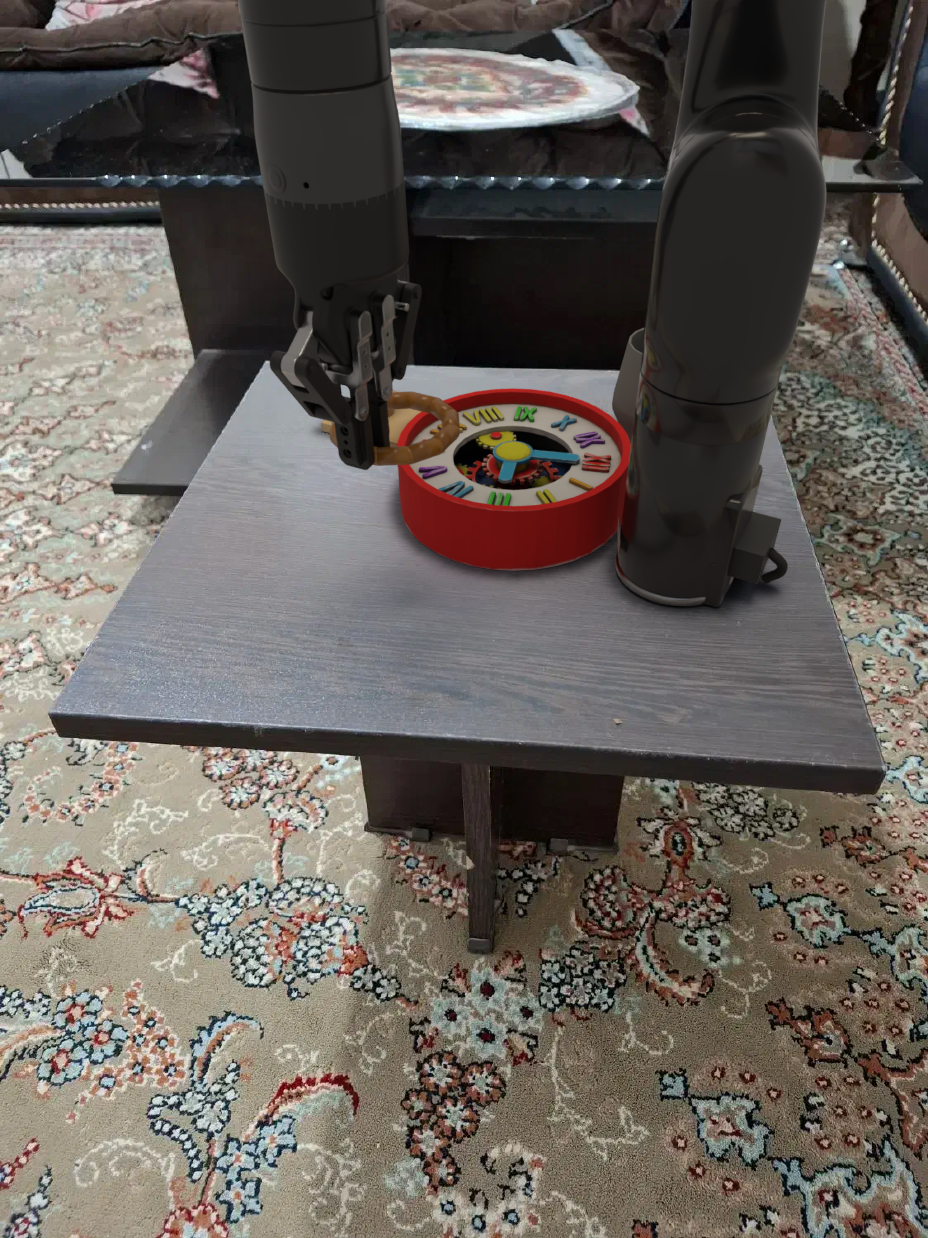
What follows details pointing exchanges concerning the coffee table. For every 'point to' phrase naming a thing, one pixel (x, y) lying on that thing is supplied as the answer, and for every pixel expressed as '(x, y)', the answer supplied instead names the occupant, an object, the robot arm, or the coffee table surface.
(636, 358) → the cup
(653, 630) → the coffee table surface
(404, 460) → the ring
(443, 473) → the toy clock
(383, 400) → the robot arm
